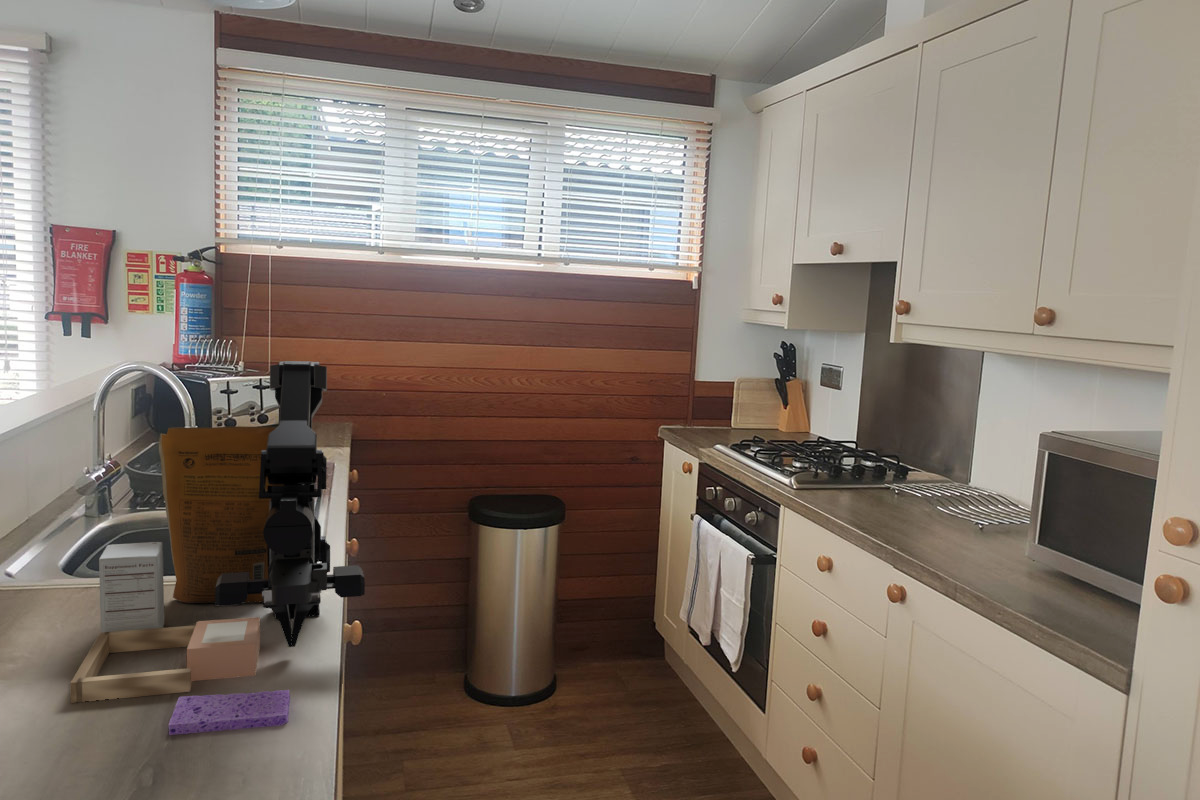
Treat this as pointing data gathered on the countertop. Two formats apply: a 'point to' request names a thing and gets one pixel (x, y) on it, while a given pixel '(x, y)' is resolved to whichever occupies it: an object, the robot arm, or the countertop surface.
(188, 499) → the pancake mix bag
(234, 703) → the sponges
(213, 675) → the carton
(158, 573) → the supplement box
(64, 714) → the countertop surface
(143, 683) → the u-shaped wooden frame
